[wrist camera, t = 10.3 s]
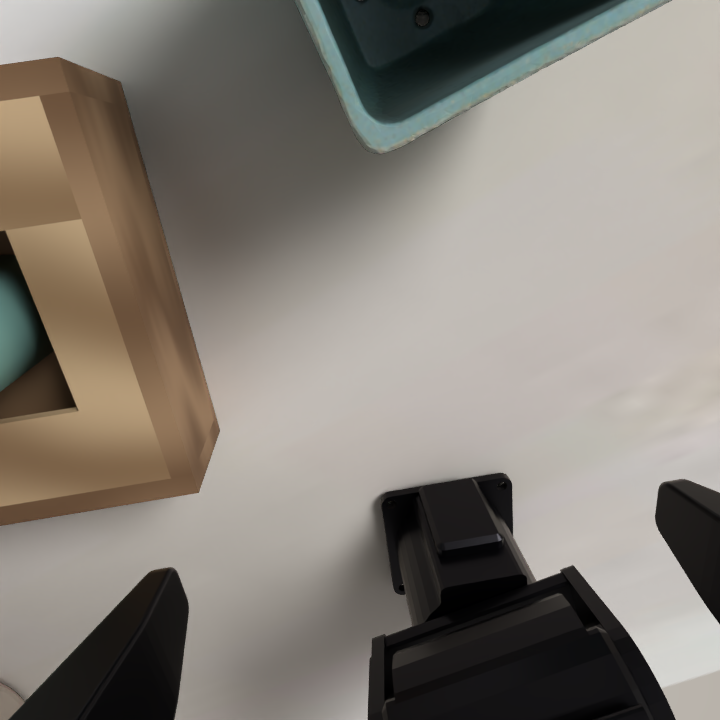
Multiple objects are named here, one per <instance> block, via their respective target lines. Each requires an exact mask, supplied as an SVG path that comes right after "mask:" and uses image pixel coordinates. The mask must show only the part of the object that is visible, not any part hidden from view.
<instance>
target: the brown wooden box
mask: <svg viewBox="0 0 720 720" xmlns="http://www.w3.org/2000/svg"><path fill="white" fill-rule="evenodd" d="M0 255H15V256H16V258H17V260H18V263H19V265H20V268H21V270H22V273H23V275H24V278H25V280H26V283H27V285H28V287H29V290H30V292H31V295H32V297H33V300H34V302H35V305H36V307H37V310H38V312H39V315H40V317H41V319H42V322H43V324H44V327H45V329H46V332H47V334H48V337H49V339H50V342H51V344H52V347H53V349H54V351H53V352H52V353H50V354H49V355H48V356H47V357H45V358H44V359H43V360H41V361H40V362H39V363H37V364H36V365H35V366H33V367H32V368H31V369H30V370H28V371H27V372H26V373H24V374H23V375H22V376H20V377H19V378H18V379H16V380H15V381H14V382H13V383H11V384H10V385H9V386H7V387H6V388H5V389H3V390H2V391H1V392H0V526H2V525H8V524H14V523H20V522H26V521H32V520H38V519H44V518H50V517H56V516H62V515H68V514H74V513H80V512H86V511H92V510H98V509H104V508H110V507H116V506H122V505H128V504H134V503H140V502H146V501H152V500H158V499H164V498H170V497H176V496H182V495H188V494H194V493H199V490H200V488H201V485H202V482H203V479H204V476H205V473H206V470H207V467H208V464H209V461H210V458H211V455H212V452H213V449H214V446H215V444H216V441H217V438H218V435H219V432H220V429H219V426H218V422H217V419H216V415H215V412H214V408H213V405H212V401H211V398H210V394H209V391H208V387H207V384H206V380H205V377H204V373H203V370H202V366H201V363H200V359H199V356H198V352H197V349H196V345H195V341H194V338H193V334H192V331H191V327H190V324H189V320H188V317H187V313H186V310H185V306H184V303H183V299H182V296H181V292H180V289H179V285H178V282H177V278H176V275H175V271H174V268H173V264H172V261H171V257H170V254H169V250H168V247H167V243H166V240H165V236H164V233H163V229H162V226H161V222H160V219H159V215H158V212H157V208H156V205H155V201H154V198H153V194H152V191H151V187H150V183H149V180H148V176H147V173H146V169H145V166H144V162H143V159H142V155H141V152H140V148H139V145H138V141H137V138H136V134H135V131H134V127H133V124H132V120H131V117H130V113H129V110H128V106H127V103H126V99H125V96H124V92H123V89H122V85H121V82H120V81H117V80H115V79H112V78H110V77H107V76H105V75H102V74H100V73H97V72H95V71H92V70H90V69H87V68H85V67H82V66H80V65H77V64H75V63H72V62H70V61H67V60H65V59H62V58H60V57H54V58H47V59H40V60H33V61H26V62H18V63H11V64H4V65H0Z"/></svg>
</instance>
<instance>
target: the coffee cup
mask: <svg viewBox="0 0 720 720" xmlns="http://www.w3.org/2000/svg"><path fill="white" fill-rule="evenodd" d="M24 703H25V702H24V701H23V699H22V698H21V697H20V696H19V695H18V694H17V693H16V692H15V691H13V690H12V689H11V688H9V687H8V686H6V685H4V684H2V683H0V720H8V719H9V718H10V717H11V716H12V715H13V714H14V713H15V712H16V711H17V710H18V709H19V708H20V707H21V706H22V705H23V704H24Z"/></svg>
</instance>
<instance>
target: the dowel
mask: <svg viewBox="0 0 720 720" xmlns="http://www.w3.org/2000/svg"><path fill="white" fill-rule="evenodd" d="M53 351H54V349H53V347H52V344H51V342H50V339H49V337H48V334H47V332H46V329H45V327H44V324H43V322H42V319H41V317H40V315H39V312H38V310H37V307H36V305H35V302H34V300H33V297H32V295H31V292H30V290H29V287H28V285H27V283H26V280H25V278H24V275H23V273H22V270H21V268H20V265H19V263H18V260H17V258H16V256H15V255H0V392H1V391H2V390H3V389H5V388H6V387H7V386H9V385H10V384H11V383H13V382H14V381H15V380H16V379H18V378H19V377H20V376H22V375H23V374H24V373H26V372H27V371H28V370H30V369H31V368H32V367H33V366H35V365H36V364H37V363H39V362H40V361H41V360H43V359H44V358H45V357H47V356H48V355H49V354H50V353H52V352H53Z"/></svg>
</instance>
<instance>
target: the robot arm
mask: <svg viewBox="0 0 720 720" xmlns="http://www.w3.org/2000/svg"><path fill="white" fill-rule="evenodd" d="M501 482H504V483H503V484H502V485H500V486H497V485H498V484H499V483H501ZM389 501H395V502H394V503H392V504H388V502H389ZM381 507H382V514H383V520H384V527H385V534H386V541H387V547H388V554H389V561H390V568H391V575H392V581H393V587H394V591H395V592H396V593H397V594H400V595H404V594H406V598H407V603H408V608H409V612H410V617H411V622H412V627H410V628H407V629H405V630H402V631H399V632H396V633H394V634H391V635H388V636H386V635H385V634H383V635H381V636H378V637H375V638H372V656H371V658H370V666H369V696H368V720H676V719H675V717H674V715H673V712H672V710H671V708H670V706H669V704H668V702H667V699H666V697H665V695H664V693H663V691H662V689H661V687H660V685H659V683H658V682H657V680H656V678H655V676H654V674H653V673H652V671H651V669H650V667H649V665H648V664H647V662H646V660H645V659H644V657H643V655H642V654H641V652H640V650H639V649H638V647H637V646H636V644H635V643H634V641H633V640H632V638H631V637H630V635H629V634H628V632H627V631H626V630H625V628H624V627H623V626H622V625H621V623H620V622H619V621H618V620H617V618H616V617H615V616H614V615H613V613H612V612H611V611H610V610H609V609H608V607H607V606H606V605H605V604H604V602H603V601H602V600H601V599H600V597H599V596H598V595H597V594H596V593H595V591H594V590H593V589H592V588H591V586H590V585H589V584H588V583H587V582H586V580H585V579H584V578H583V577H582V575H581V574H580V573H579V572H578V570H577V569H576V568H575V567H574V566H573V565H572V566H570V567H567V568H564V569H561V570H560V571H561V573H558V574H555V575H553V576H550V577H547V578H544V579H542V580H539V581H536V579H535V577H534V576H533V574H532V572H531V570H530V568H529V566H528V564H527V562H526V560H525V559H524V557H523V555H522V553H521V551H520V549H519V547H518V545H517V543H516V542H515V540H514V538H513V511H512V483H511V480H510V479H509V477H508V476H507V475H506V474H504V473H497V474H491V475H485V476H479V477H473V478H467V479H461V480H455V481H449V482H443V483H437V484H431V485H425V486H420V487H414V488H408V489H402V490H396V491H390V492H387V493H385V494H384V495H383V496H382V497H381ZM655 520H656V525H657V527H658V530H659V531H660V533H661V535H662V536H663V538H664V540H665V541H666V543H667V544H668V546H669V548H670V549H671V551H672V552H673V554H674V556H675V557H676V559H677V560H678V562H679V564H680V565H681V567H682V568H683V570H684V571H685V573H686V575H687V576H688V578H689V579H690V581H691V583H692V584H693V586H694V587H695V589H696V591H697V592H698V594H699V595H700V597H701V598H702V600H703V601H704V603H705V604H706V606H707V607H708V609H709V610H710V611H711V613H712V614H713V616H714V617H715V618H716V620H717V621H718V622H719V624H720V493H719V492H716V491H714V490H711V489H709V488H706V487H704V486H701V485H699V484H696V483H694V482H691V481H689V480H685V479H678V480H673V481H667V482H663V483H662V484H661V485H660V486H659V490H658V498H657V506H656V514H655ZM402 584H404V585H402ZM188 614H189V605H188V600H187V597H186V594H185V591H184V588H183V586H182V583H181V580H180V578H179V575H178V573H177V571H176V570H175V569H174V568H172V567H169V568H163V569H157V570H153V571H151V572H149V573H148V574H147V575H146V576H145V577H144V578H143V579H142V580H141V581H140V582H139V583H138V584H137V585H136V586H135V587H134V588H133V589H132V591H131V592H130V593H129V594H128V595H127V596H126V597H125V598H124V599H123V600H122V601H121V602H120V603H119V604H118V605H117V606H116V607H115V608H114V609H113V610H112V611H111V613H110V614H109V615H108V616H107V617H106V618H105V619H104V620H103V621H102V622H101V623H100V624H99V625H98V626H97V627H96V628H95V629H94V630H93V631H92V632H91V633H90V634H89V636H88V637H87V638H86V639H85V640H84V641H83V642H82V643H81V644H80V645H79V646H78V647H77V648H76V649H75V650H74V651H73V652H72V653H71V654H70V655H69V656H68V658H67V659H66V660H65V661H64V662H63V663H62V664H61V665H60V666H59V667H58V668H57V669H56V670H55V671H54V672H53V673H52V674H51V675H50V676H49V677H48V678H47V679H46V681H45V682H44V683H43V684H42V685H41V686H40V687H39V688H38V689H37V690H36V691H35V692H34V693H33V694H32V695H31V696H30V697H29V698H28V699H27V700H26V701H25V703H24V704H23V705H22V706H21V707H20V708H19V709H18V710H17V711H16V712H15V713H14V714H13V715H12V716H11V717H10V718H9V719H8V720H174V718H175V713H176V708H177V703H178V696H179V689H180V681H181V673H182V664H183V656H184V648H185V639H186V631H187V623H188Z"/></svg>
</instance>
